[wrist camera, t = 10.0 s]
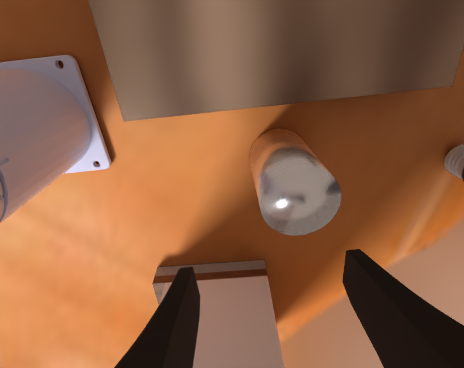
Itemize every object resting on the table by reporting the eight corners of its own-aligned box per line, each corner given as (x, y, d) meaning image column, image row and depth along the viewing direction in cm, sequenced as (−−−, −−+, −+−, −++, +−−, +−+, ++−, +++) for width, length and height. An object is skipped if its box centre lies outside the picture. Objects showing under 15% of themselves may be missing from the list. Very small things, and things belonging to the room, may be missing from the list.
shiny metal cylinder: (251, 184, 22) (262, 239, 16) (246, 132, 20) (258, 171, 14) (304, 178, 22) (337, 231, 16) (306, 125, 20) (345, 162, 13)
